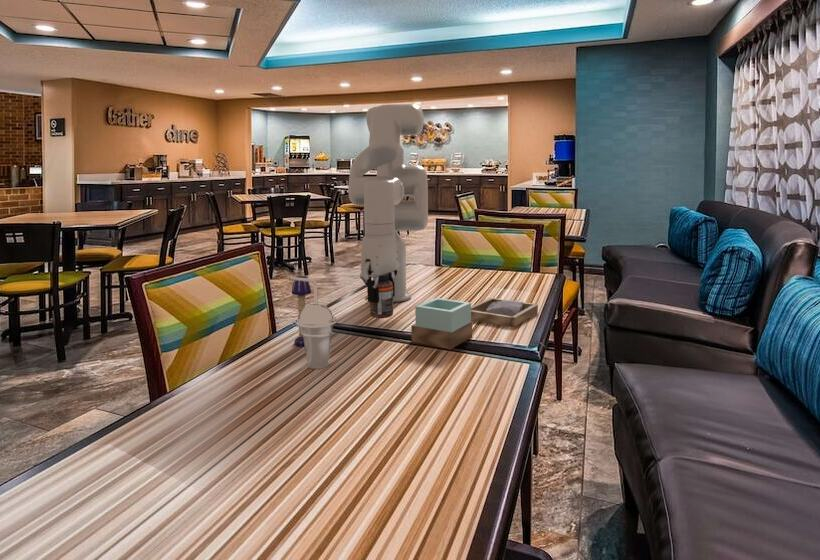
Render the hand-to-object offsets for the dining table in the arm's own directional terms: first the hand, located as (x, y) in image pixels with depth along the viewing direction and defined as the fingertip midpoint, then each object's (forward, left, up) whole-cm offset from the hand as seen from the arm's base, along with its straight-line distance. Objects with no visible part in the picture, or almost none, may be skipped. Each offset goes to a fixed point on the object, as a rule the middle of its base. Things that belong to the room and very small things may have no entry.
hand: (381, 298), depth 140 cm
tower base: (+16, +3, -9) cm, 19 cm away
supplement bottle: (0, 0, -5) cm, 5 cm away
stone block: (+20, +32, -10) cm, 39 cm away
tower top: (+17, +3, -5) cm, 18 cm away
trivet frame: (+19, +31, -9) cm, 38 cm away
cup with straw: (+2, -27, -9) cm, 28 cm away
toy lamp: (-11, -18, -9) cm, 23 cm away
